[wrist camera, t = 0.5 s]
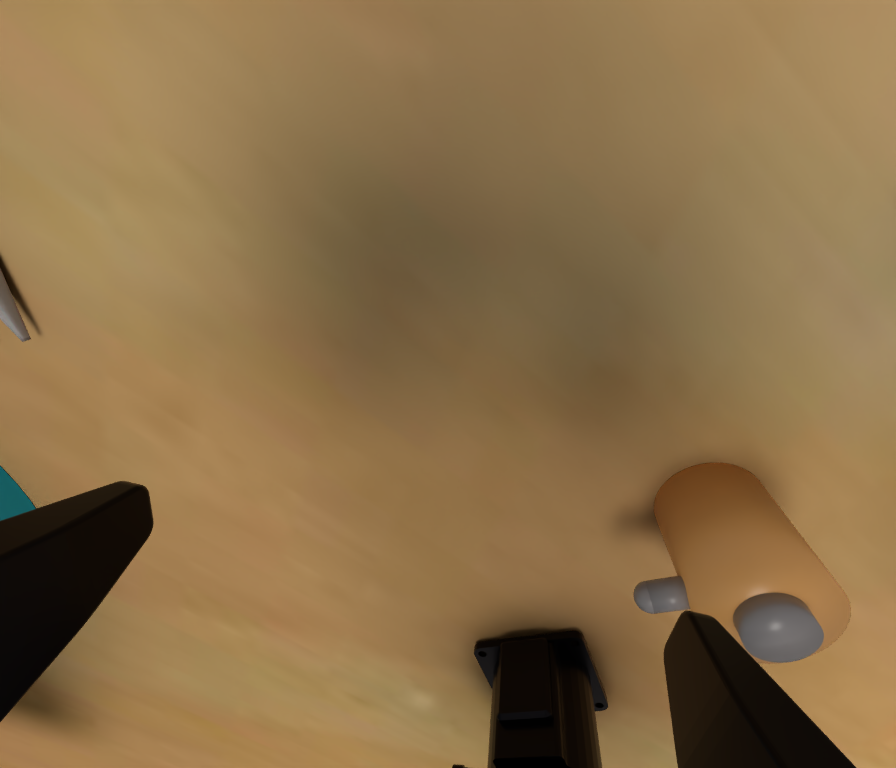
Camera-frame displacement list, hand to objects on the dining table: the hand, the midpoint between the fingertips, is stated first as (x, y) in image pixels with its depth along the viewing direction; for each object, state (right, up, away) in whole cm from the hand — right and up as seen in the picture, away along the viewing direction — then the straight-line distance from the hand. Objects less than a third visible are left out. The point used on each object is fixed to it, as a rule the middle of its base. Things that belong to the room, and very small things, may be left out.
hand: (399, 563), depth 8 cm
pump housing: (+13, -3, +14) cm, 19 cm away
